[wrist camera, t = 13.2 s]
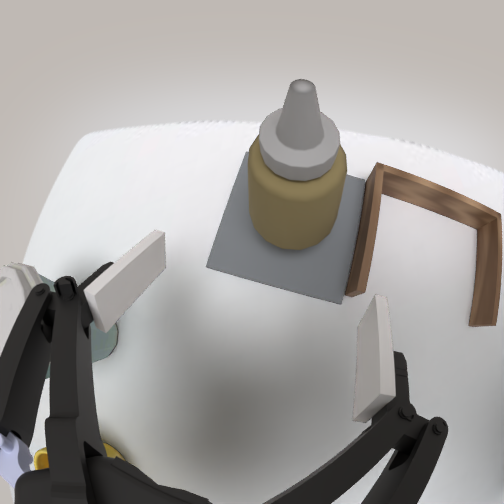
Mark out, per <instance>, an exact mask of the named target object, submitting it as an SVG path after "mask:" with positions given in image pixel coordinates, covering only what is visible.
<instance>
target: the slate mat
mask: <svg viewBox="0 0 504 504" xmlns="http://www.w3.org/2000/svg"><path fill="white" fill-rule="evenodd" d="M248 156H249V152H246V153H245V156H244V159H243V161H242V164H241V167H240V170H239V172H238V175H237V178H236V180H235V183H234V186H233V189H232V192H231V194H230V197H229V200H228V203H227V206H226V208H225V211H224V214H223V217H222V220H221V223H220V226H219V229H218V232H217V235H216V238H215V241H214V244H213V246H212V249H211V253H210V256H209V259H208V262H207V265H206V267H207V268H211V269H214V270H217V271H221V272H224V273H228V274H231V275H235V276H238V277H242V278H245V279H249V280H252V281H256V282H259V283H263V284H266V285H270V286H274V287H277V288H281V289H284V290H288V291H292V292H295V293H299V294H303V295H307V296H310V297H314V298H318V299H322V300H326V301H329V302H333V303H337V304H342V300H343V296H344V292H345V287H346V283H347V279H348V274H349V270H350V265H351V261H352V256H353V251H354V246H355V240H356V235H357V230H358V224H359V218H360V212H361V206H362V199H363V192H364V185H365V180H364V179H360V178H357V177H353V176H350V175H346V179H345V183H344V188H343V193H342V197H341V202H340V206H339V211H338V215H337V219H336V221H335V223H334V226H333V228H332V230H331V232H330V234H329V235H327V236H326V237H325V238H324V239H323V240H322V241H321V242H320V243H318V244H317V245H314V246H311V247H308V248H305V249H302V250H293V249H282V248H280V247H277V246H275V245H273V244H271V243H269V242H267V241H265V239H264V238H263V237H262V236H261V235H260V234H259V233H258V232H257V230H256V229H255V228H254V226H253V223H252V220H251V217H250V214H249V194H248Z"/></svg>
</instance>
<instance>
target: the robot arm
mask: <svg viewBox="0 0 504 504" xmlns="http://www.w3.org/2000/svg"><path fill="white" fill-rule="evenodd" d="M165 268H166V255H165V232H161V231H158V230H154V231H153V232H151V233H150V234H149V235H148V236H146V237H145V238H144V239H143V240H141V241H140V242H139V243H138V244H136V245H135V246H134V247H133V248H132V249H130V250H129V251H128V252H127V253H125V254H124V255H123V256H122V257H121V258H120V259H118V260H117V261H116V262H115V263H113V262H109V263H107V264H104V265H103V266H101V267H100V268H99V269H98V270H97V271H95V272H94V273H93V274H92V275H91V276H90V277H89V278H87V279H86V280H85V281H84V282H83V283H82V284H81V285H79V286H78V287H77V284H76V281H75V279H74V278H73V277H71V276H64V277H61V278H59V279H58V280H57V281H56V282H55V283H54V285H53V286H54V289H55V291H56V292H52V291H51V290H50V287H49V285H48V284H45V283H40V284H37V285H36V286H34V287H33V288H32V290H31V291H30V293H29V295H28V297H27V299H26V301H25V303H24V305H23V307H22V309H21V311H20V313H19V315H18V317H17V319H16V321H15V323H14V325H13V327H12V329H11V332H10V334H9V336H8V339H7V341H6V343H5V346H4V348H3V351H2V353H1V356H0V476H2V477H3V478H4V479H5V480H6V481H7V482H8V483H9V484H10V485H11V486H12V487H13V488H14V489H15V504H212V503H211V502H209V501H208V500H209V499H207V498H204V497H201V496H198V495H196V494H193V493H190V492H188V491H185V490H181V489H176V488H171V487H166V486H162V485H158V484H157V483H156V482H154V481H153V480H152V479H151V478H149V477H148V476H147V475H145V474H144V473H143V472H142V471H140V470H139V469H138V468H137V467H135V466H133V465H131V464H129V463H128V462H126V461H124V460H122V459H121V458H119V457H117V456H116V457H115V458H112V457H107V453H106V449H105V446H104V444H103V442H102V440H101V437H100V432H99V426H98V419H97V412H96V404H95V395H94V384H93V371H92V351H91V326H90V324H91V323H92V322H93V320H94V323H95V326H96V328H98V329H99V330H101V331H103V332H105V333H107V332H108V331H109V330H110V328H111V327H112V326H113V325H114V324H115V323H116V322H117V320H118V319H119V318H120V317H121V316H122V315H123V314H124V313H125V311H126V310H127V309H128V308H129V307H130V306H131V305H132V304H133V303H134V302H135V300H136V299H137V298H138V297H139V296H140V295H141V294H142V293H143V292H144V291H145V290H146V289H147V287H148V286H149V285H150V284H151V283H152V282H153V281H154V280H155V279H156V278H157V277H158V276H159V275H160V274H161V273H162V272H163V271H164V269H165ZM49 364H50V416H49V417H48V418H46V420H45V437H46V447H47V456H48V463H49V468H45V469H39V470H34V471H31V470H30V466H29V464H31V463H32V462H33V457H32V455H31V454H30V451H29V446H30V444H31V440H32V437H33V433H34V428H35V422H36V417H37V412H38V407H39V402H40V398H41V394H42V390H43V386H44V382H45V378H46V374H47V371H48V367H49ZM407 377H408V373H407V363H406V360H405V357H404V355H403V353H400V352H396V351H393V343H392V333H391V325H390V316H389V309H388V302H387V297H384V296H380V295H377V294H375V296H374V298H373V300H372V301H371V303H370V305H369V307H368V309H367V311H366V313H365V314H364V316H363V318H362V320H361V322H360V323H359V325H358V333H357V365H356V382H355V396H354V407H353V417H352V421H357V422H363V423H366V422H368V421H369V420H370V419H371V418H372V423H371V426H370V427H368V428H367V429H366V430H364V431H363V432H362V434H361V435H360V436H358V437H357V438H356V439H355V440H354V441H353V442H351V443H350V444H349V445H348V446H347V447H346V448H344V449H343V450H342V451H341V452H339V453H338V454H337V455H336V456H334V457H333V458H332V459H330V460H329V461H328V462H327V463H325V464H324V465H323V466H321V467H320V468H318V469H317V470H316V471H314V472H313V473H311V474H310V475H309V476H307V477H306V478H304V479H303V480H301V481H300V482H298V483H297V484H295V485H293V486H292V487H290V488H289V489H287V490H285V491H284V492H282V493H280V494H279V495H277V496H275V497H274V498H272V499H270V500H268V501H267V502H265V503H263V504H331V503H332V502H334V501H335V500H336V499H337V498H339V497H340V496H341V495H342V494H344V493H345V492H346V491H347V490H348V489H350V488H351V487H352V486H353V485H354V484H355V483H357V482H358V481H359V480H360V479H361V478H362V477H363V476H364V475H365V474H366V473H367V472H369V471H370V470H371V469H372V468H373V467H374V466H375V465H376V464H377V463H378V462H379V461H380V460H381V459H382V458H383V457H384V456H385V455H386V454H387V453H388V451H389V450H390V449H391V448H393V449H395V451H394V453H393V455H392V456H391V458H390V460H389V462H388V463H387V465H386V467H385V468H384V470H383V472H382V473H381V475H380V476H379V478H378V480H377V481H376V483H375V484H374V486H373V487H372V489H371V490H370V492H369V493H368V495H367V496H366V497H365V499H364V500H363V502H362V503H361V504H417V503H418V501H419V499H420V497H421V495H422V493H423V491H424V489H425V487H426V485H427V483H428V481H429V479H430V477H431V475H432V473H433V470H434V468H435V466H436V463H437V461H438V458H439V456H440V453H441V451H442V448H443V445H444V443H445V440H446V437H447V434H448V425H447V423H446V421H445V420H444V419H443V418H440V417H434V418H432V419H431V420H427V419H425V418H423V417H421V416H419V415H417V414H416V410H415V408H414V406H413V405H412V404H410V401H409V385H408V378H407Z"/></svg>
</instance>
